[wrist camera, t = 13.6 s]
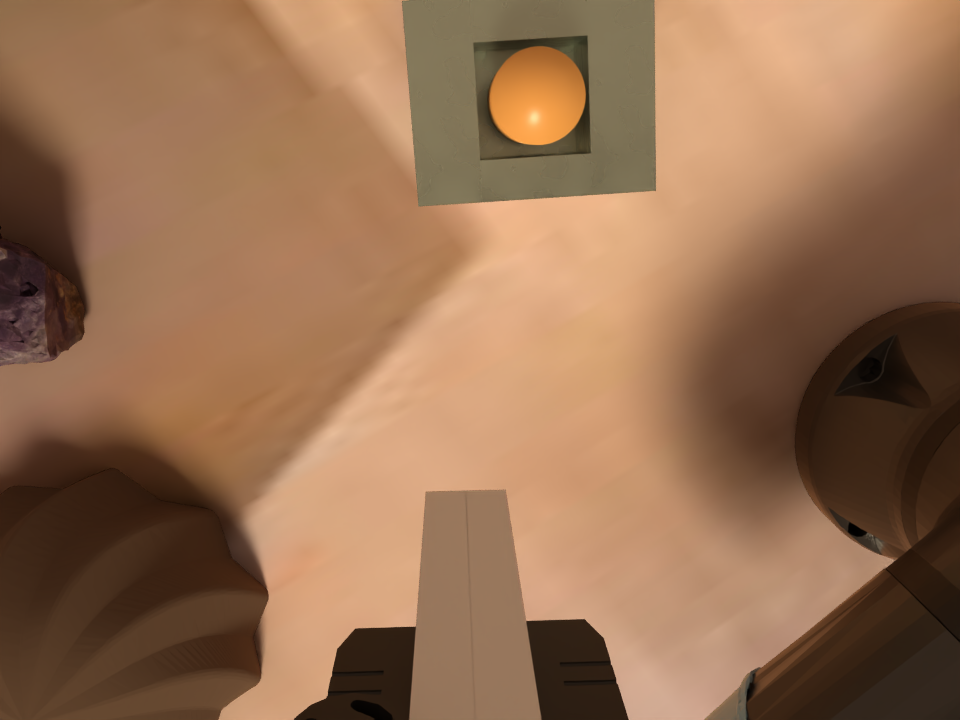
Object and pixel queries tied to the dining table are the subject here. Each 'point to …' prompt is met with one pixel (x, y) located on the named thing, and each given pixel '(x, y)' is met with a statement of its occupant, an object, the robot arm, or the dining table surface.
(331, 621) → the dining table surface
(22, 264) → the rock
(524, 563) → the dining table surface
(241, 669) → the decorative dome
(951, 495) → the robot arm
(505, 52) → the green square holder
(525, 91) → the orange rounded piece
